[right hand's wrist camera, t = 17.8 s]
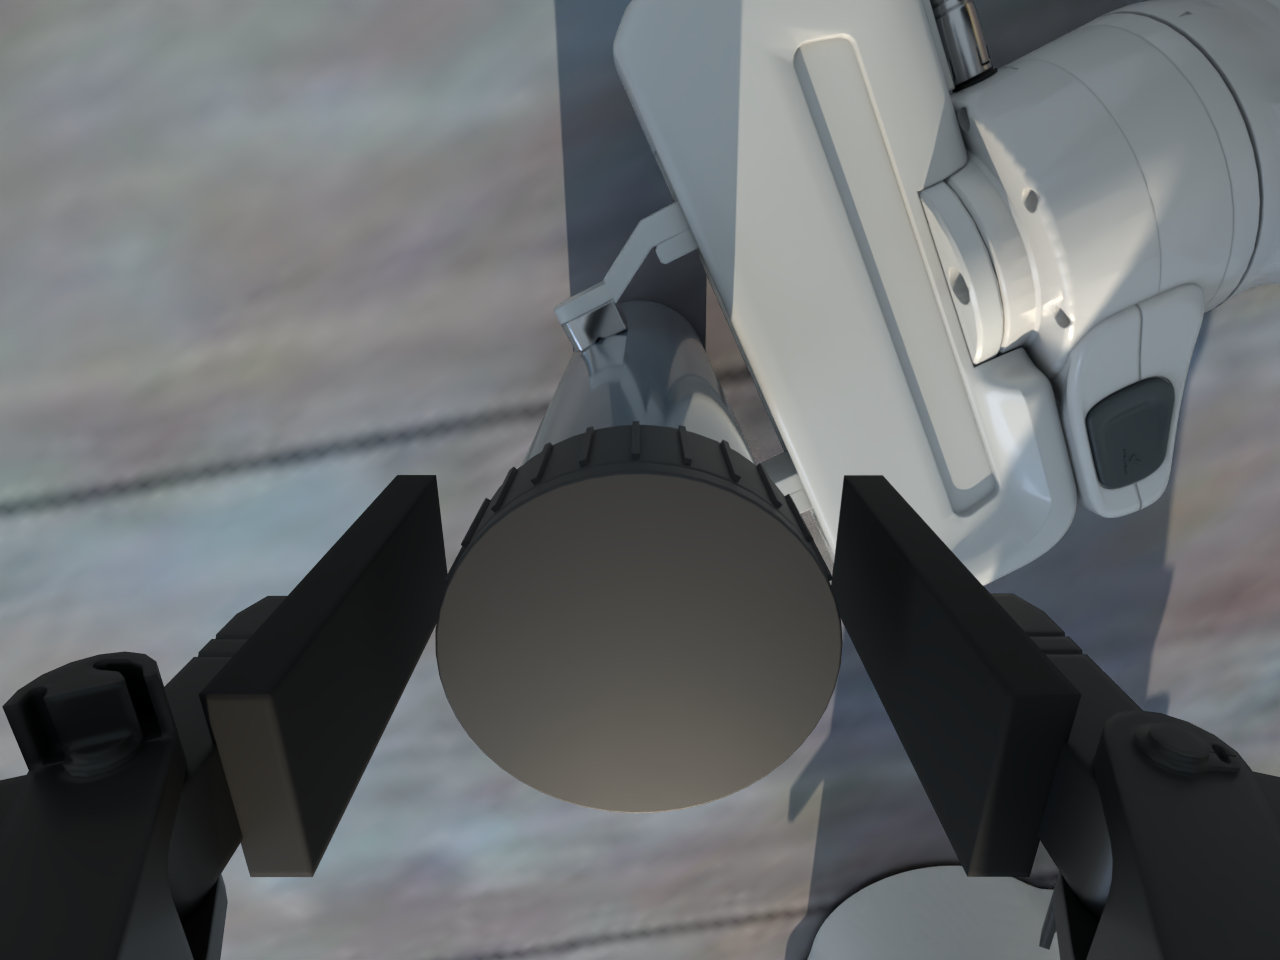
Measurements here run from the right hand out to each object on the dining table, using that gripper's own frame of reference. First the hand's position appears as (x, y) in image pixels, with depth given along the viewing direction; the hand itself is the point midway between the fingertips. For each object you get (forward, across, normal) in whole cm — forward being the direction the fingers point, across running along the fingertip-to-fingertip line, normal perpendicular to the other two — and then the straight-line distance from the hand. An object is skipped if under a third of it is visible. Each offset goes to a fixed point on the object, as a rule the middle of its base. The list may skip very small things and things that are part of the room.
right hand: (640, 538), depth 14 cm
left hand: (+9, -1, 0) cm, 9 cm away
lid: (-4, 0, 0) cm, 4 cm away
